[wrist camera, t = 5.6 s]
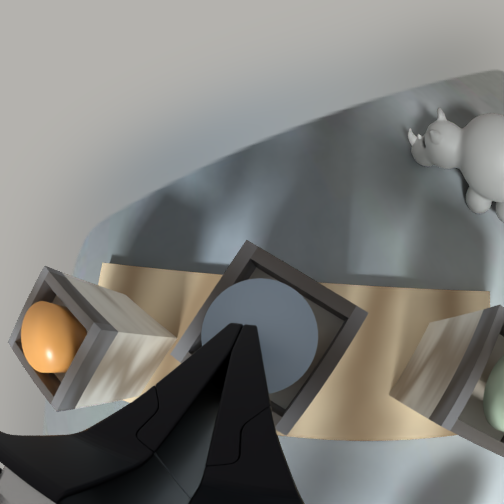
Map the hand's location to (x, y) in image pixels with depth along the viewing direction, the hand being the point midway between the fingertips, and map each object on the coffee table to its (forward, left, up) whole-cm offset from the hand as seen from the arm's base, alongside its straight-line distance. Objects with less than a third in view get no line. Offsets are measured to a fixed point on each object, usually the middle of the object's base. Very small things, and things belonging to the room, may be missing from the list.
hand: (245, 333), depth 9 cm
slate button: (0, 0, -3) cm, 3 cm away
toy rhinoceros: (+20, -7, -14) cm, 26 cm away
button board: (-1, -1, -14) cm, 14 cm away
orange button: (-7, +9, -4) cm, 13 cm away
